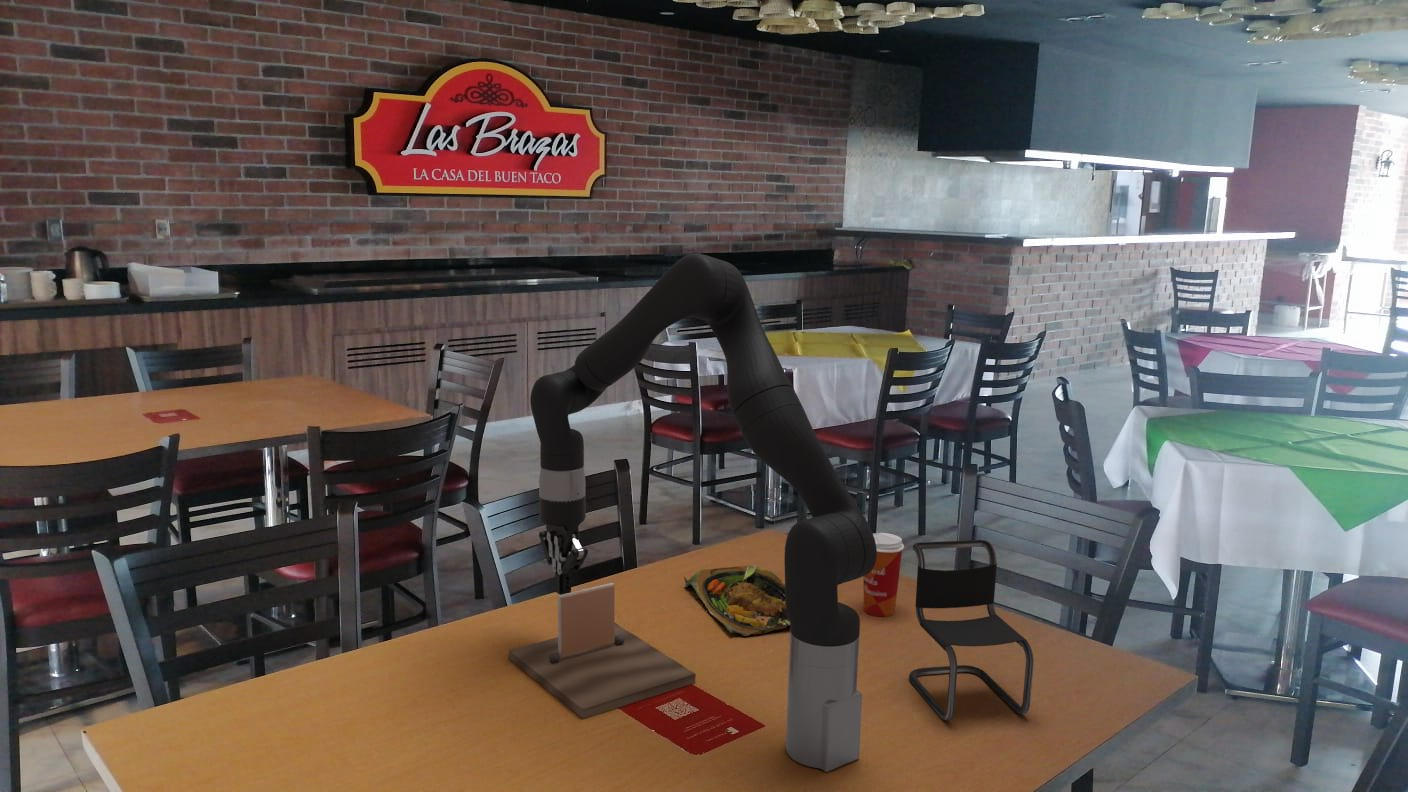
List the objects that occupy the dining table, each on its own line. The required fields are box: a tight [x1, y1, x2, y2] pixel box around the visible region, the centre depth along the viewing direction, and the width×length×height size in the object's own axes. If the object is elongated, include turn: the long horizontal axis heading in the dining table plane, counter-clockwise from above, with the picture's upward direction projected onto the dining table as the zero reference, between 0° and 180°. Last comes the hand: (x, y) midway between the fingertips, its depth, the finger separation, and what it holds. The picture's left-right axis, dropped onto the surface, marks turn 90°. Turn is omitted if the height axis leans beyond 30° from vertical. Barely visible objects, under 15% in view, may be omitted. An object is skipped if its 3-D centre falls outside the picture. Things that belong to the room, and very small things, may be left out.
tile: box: [557, 582, 616, 657], centre depth 163 cm, size 10×10×1 cm
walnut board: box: [508, 621, 697, 720], centre depth 160 cm, size 24×20×3 cm
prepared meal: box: [683, 565, 790, 637], centre depth 189 cm, size 28×4×18 cm
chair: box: [908, 539, 1035, 722], centre depth 152 cm, size 13×17×22 cm
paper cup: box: [862, 532, 905, 618], centre depth 186 cm, size 8×8×14 cm
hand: (563, 593), depth 168 cm, fingers closed
